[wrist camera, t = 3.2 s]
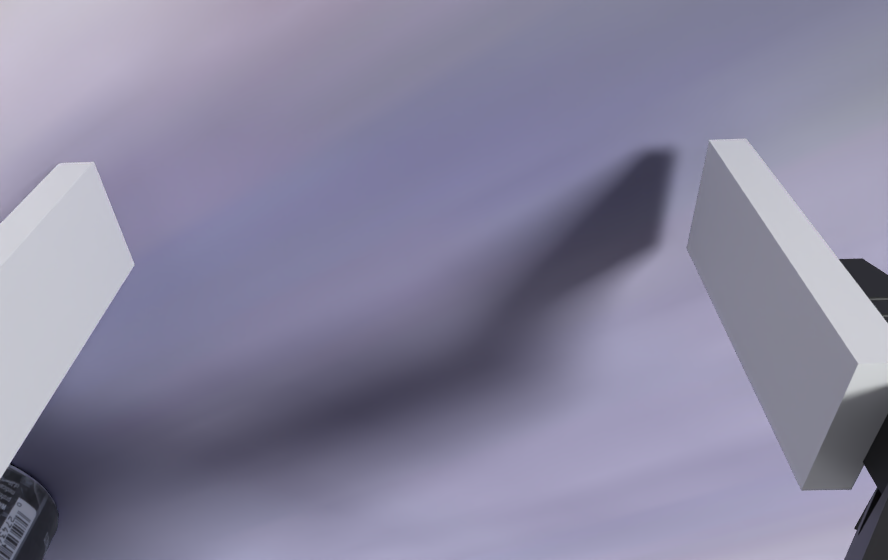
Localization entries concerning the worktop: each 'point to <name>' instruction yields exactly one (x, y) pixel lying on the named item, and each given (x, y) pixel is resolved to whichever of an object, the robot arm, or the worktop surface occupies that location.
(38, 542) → the pill bottle
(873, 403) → the robot arm
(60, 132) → the worktop surface
